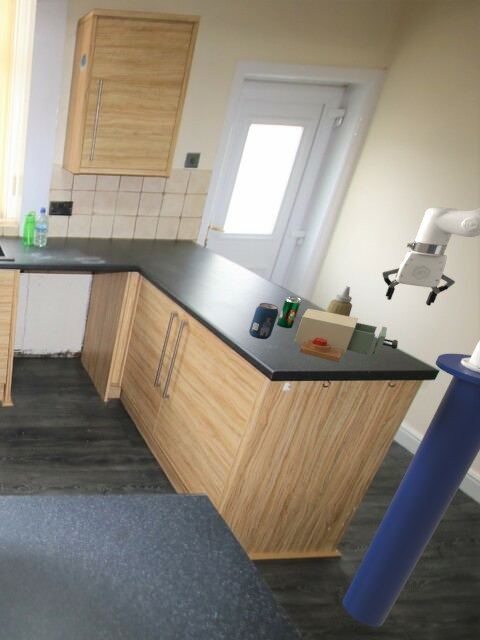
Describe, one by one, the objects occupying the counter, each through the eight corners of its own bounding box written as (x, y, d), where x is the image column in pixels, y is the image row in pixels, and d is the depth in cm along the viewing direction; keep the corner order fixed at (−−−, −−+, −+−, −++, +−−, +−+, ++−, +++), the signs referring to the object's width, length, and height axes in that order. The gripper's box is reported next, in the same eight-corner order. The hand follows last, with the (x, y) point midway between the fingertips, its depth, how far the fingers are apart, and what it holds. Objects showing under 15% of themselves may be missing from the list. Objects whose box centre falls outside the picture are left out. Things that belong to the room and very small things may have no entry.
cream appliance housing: (348, 343, 169) (358, 318, 165) (344, 354, 160) (354, 327, 156) (299, 332, 177) (308, 308, 174) (294, 342, 169) (302, 316, 165)
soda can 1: (257, 331, 176) (267, 301, 171) (274, 339, 171) (284, 308, 165) (243, 333, 174) (253, 303, 169) (259, 341, 168) (270, 310, 163)
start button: (326, 344, 159) (328, 339, 158) (325, 347, 157) (326, 342, 156) (313, 341, 161) (315, 336, 161) (312, 344, 159) (313, 339, 158)
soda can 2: (278, 323, 185) (288, 295, 180) (293, 327, 182) (303, 298, 177) (274, 327, 182) (284, 298, 177) (289, 331, 179) (299, 301, 173)
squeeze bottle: (317, 332, 178) (334, 287, 170) (317, 325, 184) (334, 281, 176) (343, 338, 174) (362, 292, 166) (342, 331, 180) (361, 286, 172)
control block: (340, 355, 159) (344, 345, 158) (338, 362, 154) (342, 352, 152) (302, 345, 166) (305, 336, 164) (298, 352, 160) (302, 342, 159)
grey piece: (392, 351, 161) (401, 330, 158) (391, 362, 153) (401, 340, 149) (330, 337, 171) (338, 317, 168) (326, 346, 163) (334, 325, 160)
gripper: (393, 247, 147) (374, 299, 154) (469, 254, 138) (446, 309, 145) (391, 243, 153) (373, 294, 160) (464, 250, 144) (441, 304, 150)
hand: (407, 301), depth 152 cm, fingers open, 9 cm apart
